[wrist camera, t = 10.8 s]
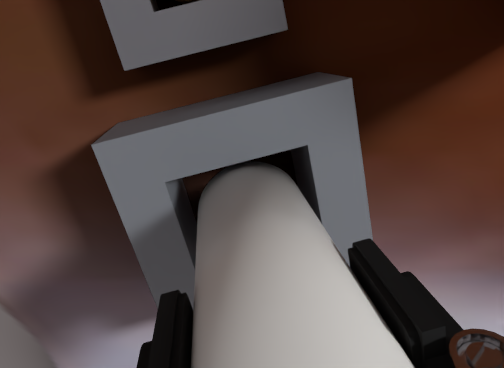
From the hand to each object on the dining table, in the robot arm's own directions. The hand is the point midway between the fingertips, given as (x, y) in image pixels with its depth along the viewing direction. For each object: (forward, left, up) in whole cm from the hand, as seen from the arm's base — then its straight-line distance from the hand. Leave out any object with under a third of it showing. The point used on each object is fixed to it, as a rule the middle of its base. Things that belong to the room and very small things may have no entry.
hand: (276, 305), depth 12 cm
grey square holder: (0, 0, -11) cm, 11 cm away
